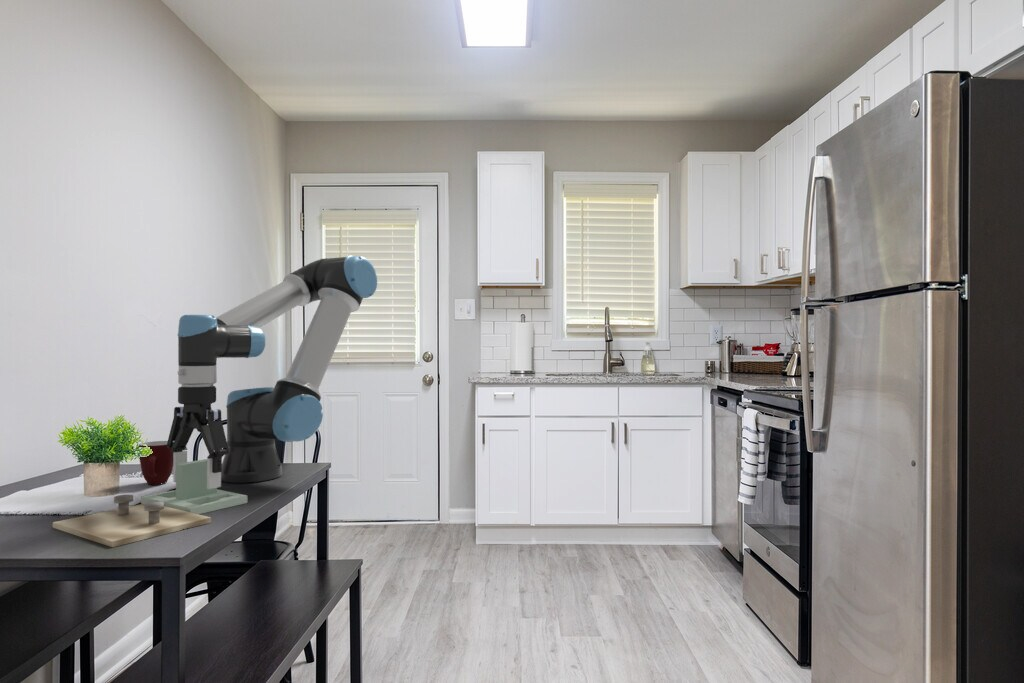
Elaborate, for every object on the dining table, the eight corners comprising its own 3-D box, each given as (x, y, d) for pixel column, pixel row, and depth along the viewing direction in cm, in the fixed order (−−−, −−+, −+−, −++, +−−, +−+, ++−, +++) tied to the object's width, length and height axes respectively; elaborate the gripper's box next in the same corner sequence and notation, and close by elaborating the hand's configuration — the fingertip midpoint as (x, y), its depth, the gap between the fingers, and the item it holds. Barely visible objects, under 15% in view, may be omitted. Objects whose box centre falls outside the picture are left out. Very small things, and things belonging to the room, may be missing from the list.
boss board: (149, 507, 135) (149, 485, 135) (211, 522, 124) (211, 498, 124) (52, 527, 120) (52, 503, 120) (112, 547, 108) (112, 520, 108)
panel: (198, 492, 149) (198, 453, 149) (247, 502, 139) (247, 461, 139) (141, 504, 138) (141, 462, 138) (190, 516, 128) (190, 471, 128)
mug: (173, 487, 154) (173, 446, 154) (134, 490, 151) (135, 448, 151) (176, 478, 164) (177, 440, 164) (140, 481, 161) (141, 441, 161)
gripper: (149, 384, 142) (149, 480, 142) (214, 388, 130) (213, 494, 129) (182, 382, 149) (181, 475, 149) (247, 386, 136) (246, 487, 136)
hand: (196, 484), depth 139 cm, fingers open, 12 cm apart
